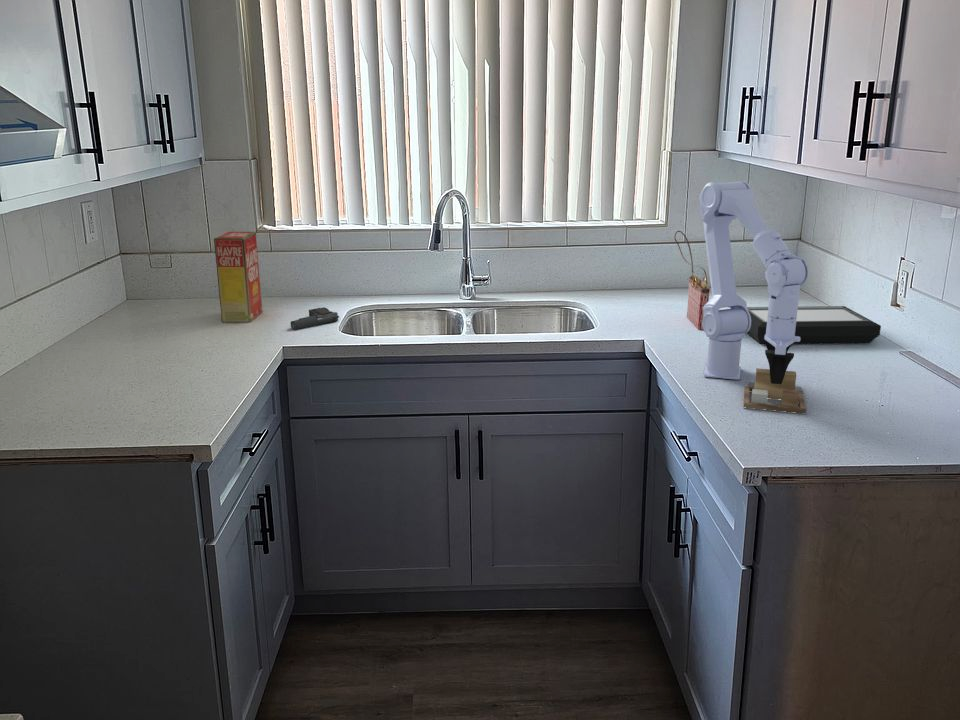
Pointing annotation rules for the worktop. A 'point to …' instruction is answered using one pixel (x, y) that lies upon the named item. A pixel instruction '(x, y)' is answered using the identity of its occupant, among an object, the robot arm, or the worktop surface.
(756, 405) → the frame
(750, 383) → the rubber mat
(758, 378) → the oak board
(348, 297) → the worktop surface
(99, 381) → the worktop surface
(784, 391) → the offcut dark
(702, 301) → the handbag
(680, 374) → the worktop surface
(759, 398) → the offcut grey
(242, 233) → the food packaging
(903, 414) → the worktop surface
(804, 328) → the electronic device
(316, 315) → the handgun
